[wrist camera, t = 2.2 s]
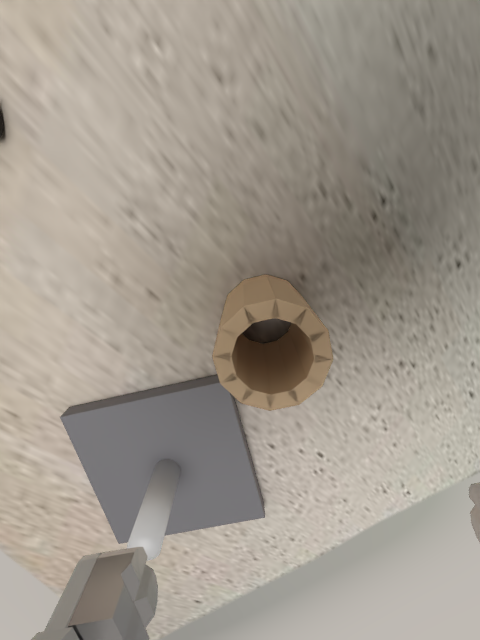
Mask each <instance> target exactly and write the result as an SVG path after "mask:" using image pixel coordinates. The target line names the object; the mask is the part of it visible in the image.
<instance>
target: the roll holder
mask: <svg viewBox="0 0 480 640" xmlns="http://www.w3.org/2000/svg"><path fill="white" fill-rule="evenodd" d="M60 418H61V420H62V422H63V425H64V427H65V429H66V431H67V433H68V435H69V437H70V440H71V442H72V444H73V446H74V448H75V450H76V453H77V455H78V457H79V459H80V461H81V463H82V465H83V468H84V470H85V472H86V474H87V476H88V478H89V481H90V483H91V485H92V487H93V489H94V491H95V494H96V496H97V498H98V500H99V502H100V504H101V506H102V509H103V511H104V513H105V515H106V517H107V519H108V522H109V524H110V526H111V528H112V530H113V532H114V535H115V537H116V539H117V541H118V543H119V544H120V543H126V542H128V544H127V549H128V548H134V547H143V548H144V550H145V552H146V554H147V556H148V557H147V560H152V559H154V558H156V557H157V556H158V555H159V554H160V551H161V547H162V543H163V539H164V536H165V535H170V534H176V533H181V532H187V531H193V530H198V529H204V528H209V527H215V526H220V525H226V524H231V523H237V522H242V521H248V520H253V519H259V518H265V510H264V502H263V498H262V495H261V491H260V488H259V484H258V480H257V477H256V473H255V470H254V466H253V463H252V459H251V456H250V452H249V448H248V445H247V441H246V438H245V434H244V431H243V427H242V424H241V420H240V416H239V413H238V409H237V406H236V402H235V399H234V396H233V395H232V394H231V393H230V392H229V391H228V390H226V389H225V388H224V387H223V386H222V385H221V384H220V381H219V378H218V375H214V376H210V377H205V378H201V379H196V380H191V381H187V382H182V383H178V384H173V385H169V386H164V387H159V388H155V389H150V390H146V391H141V392H137V393H132V394H127V395H123V396H118V397H114V398H109V399H104V400H100V401H95V402H91V403H86V404H82V405H77V406H72V407H69V408H68V409H67V410H66V411H65V412H64V414H63V415H62V416H61V417H60Z"/></svg>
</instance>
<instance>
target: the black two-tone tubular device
mask: <svg viewBox="0 0 480 640" xmlns="http://www.w3.org/2000/svg"><path fill="white" fill-rule="evenodd" d="M2 133H3V119H2V115H1V112H0V137H1V135H2Z"/></svg>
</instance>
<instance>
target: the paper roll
mask: <svg viewBox="0 0 480 640" xmlns="http://www.w3.org/2000/svg"><path fill="white" fill-rule="evenodd" d="M272 318H277V319H281V320H284V321H288V322H291V325H290V328H289V331H288V332H287V333H285V334H284V335H283V336H282V337H281V338H280V339H279V340H277V341H273V342H269V343H264V344H262V343H258V342H254V341H251V340H248V339H247V338H246V337H245V336H244V335H243V334H242V332H244V331H245V330H246V329H247V328H248V327H249V326H250V325H251V324H252V323H255V322H259V321H264V320H268V319H272ZM212 357H213V361H214V364H215V367H216V371H217V374H218V378H219V381H220V384H221V385H222V386H223V387H224V388H225V389H226V390H228V391H229V392H230V393H231V394H232V395H233V396H234V397H235V398H236V399H237V400H238V401H239V402H240V403H242V404H246V405H250V406H254V407H257V408H261V409H265V410H269V411H271V410H276V409H281V408H286V407H290V406H295V405H299V404H301V403H302V402H303V401H304V400H306V399H307V398H308V397H309V396H311V395H312V394H313V393H314V392H316V391H317V390H318V389H319V388H321V387H322V386H323V383H324V381H325V378H326V376H327V374H328V371H329V369H330V366H331V364H332V361H333V354H332V349H331V343H330V337H329V332H328V329H327V328H326V327H325V326H324V324H323V323H322V322H321V320H320V319H319V318H318V316H317V315H316V314H315V312H314V311H313V310H312V309H311V307H310V306H309V305H308V303H307V302H306V301H305V299H304V298H303V297H302V296H301V295H300V294H299V292H298V291H297V290H296V289H295V288H294V287H293V286H292V285H291V284H290V283H289V282H288V281H287V280H284V279H280V278H277V277H273V276H270V275H267V274H265V275H261V276H257V277H253V278H249V279H244V280H243V281H242V282H241V283H240V284H239V285H238V286H237V287H235V288H234V289H233V290H232V291H231V292H230V293H229V294H228V295H227V299H226V302H225V306H224V309H223V313H222V316H221V321H220V325H219V329H218V334H217V338H216V342H215V347H214V351H213V355H212Z"/></svg>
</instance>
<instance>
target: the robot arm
mask: <svg viewBox="0 0 480 640" xmlns="http://www.w3.org/2000/svg"><path fill="white" fill-rule="evenodd" d="M469 497H470V499H471V500H472V501H473V502H474V504H475V506H474V508H473V509H472V511H471V512H470V514H471V523H472V526H473V529H474V531H475V534H476V536H477V538H478V540H479V542H480V483H475V484H471V486H470V488H469ZM147 557H148V556H147V554H146V552H145V550H144V548H143V547H134V548H128V549H121V550H115V551H108V552H102V553H97V554H91V555H85V556H83V557H82V558H81V559H80V560H79V562H78V563H77V565H76V567H75V569H74V571H73V573H72V575H71V577H70V579H69V582H68V584H67V586H66V588H65V590H64V592H63V594H62V596H61V598H60V600H59V602H58V604H57V606H56V608H55V610H54V612H53V614H52V616H51V618H50V620H49V622H48V624H47V626H46V628H45V631H44V632H39V633H37V634H36V635H35V636H34V637H33V638H32V640H149V636H148V633H147V630H146V627H147V625H148V624H149V622H150V621H151V620H152V618H153V617H154V615H155V610H156V606H157V597H158V585H157V579H156V575H155V573H154V570H153V569H152V568H150V567H149V566H147V565H146V560H147Z"/></svg>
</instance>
